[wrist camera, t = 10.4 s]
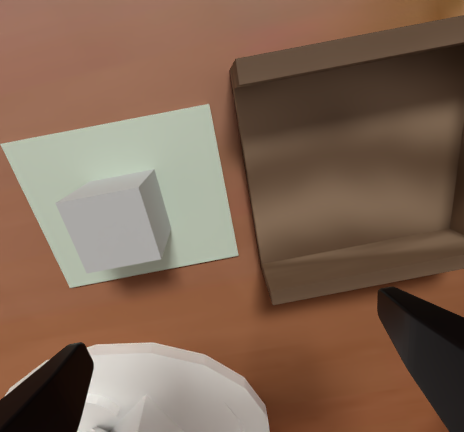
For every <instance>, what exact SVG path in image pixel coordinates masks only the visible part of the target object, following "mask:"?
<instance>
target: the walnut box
mask: <svg viewBox="0 0 464 432" xmlns="http://www.w3.org/2000/svg"><path fill="white" fill-rule="evenodd" d="M230 77H231V83H232V89H233V95H234V101H235V108H236V114H237V120H238V126H239V133H240V139H241V145H242V151H243V157H244V164H245V170H246V176H247V182H248V189H249V195H250V201H251V207H252V214H253V220H254V226H255V232H256V238H257V245H258V251H259V257H260V263H261V269H262V272H263V276H264V279H265V282H266V285H267V288H268V292H269V295H270V298H271V301H272V304H273V305H277V304H282V303H287V302H293V301H298V300H303V299H308V298H313V297H319V296H324V295H329V294H334V293H339V292H345V291H350V290H355V289H360V288H365V287H371V286H376V285H381V284H386V283H391V282H397V281H402V280H407V279H412V278H417V277H423V276H428V275H433V274H438V273H443V272H449V271H454V270H459V269H464V15H463V16H458V17H452V18H447V19H442V20H437V21H432V22H426V23H421V24H416V25H411V26H405V27H400V28H395V29H390V30H384V31H379V32H374V33H369V34H364V35H358V36H353V37H348V38H343V39H337V40H332V41H327V42H322V43H316V44H311V45H306V46H301V47H296V48H290V49H285V50H280V51H275V52H269V53H264V54H259V55H254V56H249V57H243V58H238V59H235V61H234V63H233V65H232V67H231V68H230Z"/></svg>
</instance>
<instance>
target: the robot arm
mask: <svg viewBox="0 0 464 432" xmlns="http://www.w3.org/2000/svg"><path fill="white" fill-rule="evenodd" d="M377 311H378V316H379V318H380V320H381V322H382V324H383V326H384V328H385V330H386V331H387V333H388V335H389V337H390V339H391V341H392V342H393V344H394V346H395V348H396V350H397V352H398V353H399V355H400V357H401V359H402V361H403V363H404V364H405V366H406V368H407V369H408V371H409V372H410V374H411V376H412V377H413V379H414V380H415V382H416V383H417V384H418V386H419V387H420V389H421V390H422V392H423V393H424V395H425V396H426V398H427V399H428V401H429V402H430V404H431V405H432V407H433V408H434V410H435V411H436V413H437V414H438V415H439V417H440V418H441V420H442V421H443V423H444V424H445V426H446V427H447V429H448V430H449V432H464V317H461V316H459V315H457V314H455V313H452V312H450V311H448V310H445V309H443V308H441V307H439V306H436V305H434V304H432V303H430V302H427V301H425V300H423V299H421V298H418V297H416V296H414V295H411V294H409V293H407V292H405V291H402V290H400V289H398V288H396V287H386V288H381V289H379V290H378V303H377ZM93 370H94V363H93V360H92V358H91V356H90V354H89V352H88V350H87V348H86V346H85V344H84V343H81V342H79V343H74V344H69V345H67V346H66V347H65V348H63V349H62V350H61V351H60V352H58V353H57V354H56V355H55V356H54V357H52V358H51V359H50V360H49V361H47V362H46V363H45V364H44V365H43V366H41V367H40V368H39V369H38V370H36V371H35V372H34V373H33V374H32V375H30V376H29V377H28V378H27V379H25V380H24V381H23V382H22V383H20V384H19V385H18V386H17V387H16V388H14V389H13V390H12V391H11V392H9V393H8V394H7V395H6V396H5V397H3V398H2V399H1V400H0V432H77V431H78V428H79V424H80V421H81V417H82V414H83V410H84V406H85V402H86V398H87V394H88V390H89V386H90V382H91V378H92V374H93Z"/></svg>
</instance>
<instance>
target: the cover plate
mask: <svg viewBox="0 0 464 432" xmlns="http://www.w3.org/2000/svg"><path fill="white" fill-rule="evenodd" d="M1 146H2V148H3V150H4V152H5V155H6V157H7V159H8V161H9V163H10V165H11V167H12V169H13V171H14V173H15V175H16V177H17V179H18V181H19V183H20V186H21V188H22V190H23V192H24V194H25V196H26V198H27V200H28V202H29V204H30V206H31V208H32V210H33V212H34V214H35V216H36V219H37V221H38V223H39V225H40V227H41V229H42V231H43V233H44V235H45V237H46V239H47V241H48V243H49V245H50V247H51V249H52V252H53V254H54V256H55V258H56V260H57V262H58V264H59V266H60V268H61V270H62V272H63V274H64V276H65V278H66V280H67V282H68V285H69V287H70V288H72V287H77V286H83V285H88V284H93V283H98V282H103V281H109V280H114V279H119V278H124V277H130V276H135V275H140V274H145V273H150V272H156V271H161V270H166V269H171V268H176V267H182V266H187V265H192V264H197V263H203V262H208V261H213V260H218V259H223V258H229V257H234V256H238V251H237V245H236V240H235V235H234V230H233V225H232V220H231V214H230V209H229V204H228V199H227V194H226V189H225V183H224V178H223V173H222V168H221V163H220V158H219V152H218V147H217V142H216V137H215V132H214V127H213V121H212V116H211V111H210V106H209V104H206V105H201V106H196V107H191V108H186V109H180V110H175V111H170V112H165V113H159V114H154V115H149V116H144V117H139V118H133V119H128V120H123V121H118V122H113V123H107V124H102V125H97V126H92V127H87V128H81V129H76V130H71V131H66V132H60V133H55V134H50V135H45V136H40V137H34V138H29V139H24V140H19V141H14V142H8V143H3V144H1Z"/></svg>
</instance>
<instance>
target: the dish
mask: <svg viewBox="0 0 464 432" xmlns="http://www.w3.org/2000/svg"><path fill="white" fill-rule="evenodd" d="M87 350H88V352H89V354H90V356H91V358H92V360H93V363H94V370H93V374H92V378H91V382H90V386H89V390H88V394H87V398H86V402H85V406H84V410H83V414H82V417H81V421H80V424H79V428H78V431H77V432H270V430H269V423H268V417H267V411H266V406H265V404H264V403H263V401H262V400H261V399H260V398H259V396H258V395H257V394H256V392H255V391H254V390H253V388H252V387H251V386H250V384H249V383H248V382H247V381H246V379H245V378H244V377H243V376H241V375H239V374H238V373H236V372H234V371H233V370H231V369H229V368H227V367H226V366H224V365H222V364H221V363H219V362H217V361H215V360H214V359H212V358H210V357H208V356H207V355H205V354H201V353H196V352H192V351H188V350H183V349H179V348H175V347H170V346H166V345H162V344H157V343H125V344H97V345H93V346H90V347H87ZM47 361H49V360H47ZM47 361H45V362H44V363H42V364H41V365H40V366H38V367H37V368H36V369H34V370H33V371H32V372H30V373H29V374H28V375H26V376H25V377H24V378H23V379H21V380H20V381H19V382H17V383H16V384H15V385H13V386H12V387H11V388H10V389H9V391H8V392H7V393H6V395H7V394H8V393H9V392H11V391H12V390H13V389H14V388H16V387H17V386H18V385H19V384H20V383H22V382H23V381H24V380H25V379H27V378H28V377H29V376H30V375H32V374H33V373H34V372H35V371H36V370H38V369H39V368H40V367H41V366H43V365H44V364H45V363H46V362H47ZM6 395H5V396H6ZM5 396H4V397H5Z"/></svg>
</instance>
